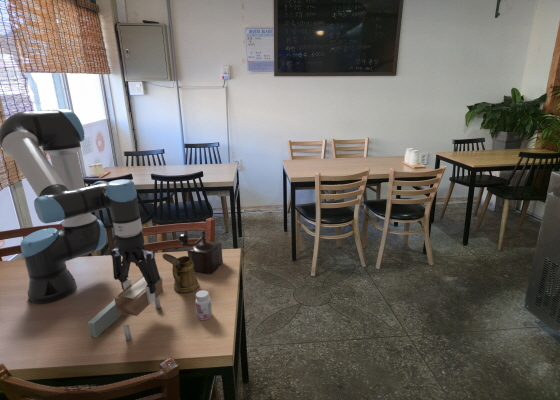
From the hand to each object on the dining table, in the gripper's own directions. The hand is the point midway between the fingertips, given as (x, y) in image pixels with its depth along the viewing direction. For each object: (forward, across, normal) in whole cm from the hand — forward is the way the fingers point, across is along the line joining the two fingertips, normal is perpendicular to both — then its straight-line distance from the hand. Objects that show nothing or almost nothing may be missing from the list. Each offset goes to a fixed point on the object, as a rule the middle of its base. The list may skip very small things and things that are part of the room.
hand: (140, 300), depth 109 cm
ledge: (+8, -6, 0) cm, 10 cm away
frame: (+1, 0, 0) cm, 1 cm away
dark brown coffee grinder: (+8, +4, +35) cm, 36 cm away
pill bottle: (+9, +18, +7) cm, 21 cm away
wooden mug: (+8, +3, +20) cm, 21 cm away
